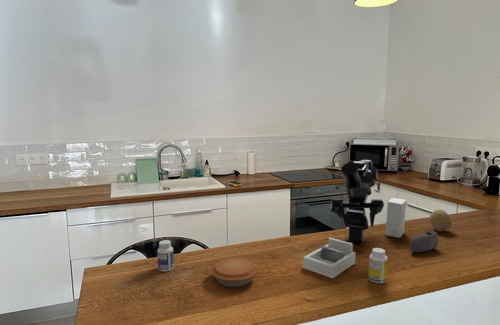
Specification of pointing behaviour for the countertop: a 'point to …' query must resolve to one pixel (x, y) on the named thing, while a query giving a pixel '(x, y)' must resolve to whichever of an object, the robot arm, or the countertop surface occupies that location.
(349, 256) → the pusher lane
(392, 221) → the skincare box
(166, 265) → the pill bottle
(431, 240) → the perforated stone tool
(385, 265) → the supplement bottle
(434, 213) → the natural sponge
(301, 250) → the countertop surface
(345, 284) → the countertop surface
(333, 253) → the pusher plate
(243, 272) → the pie
